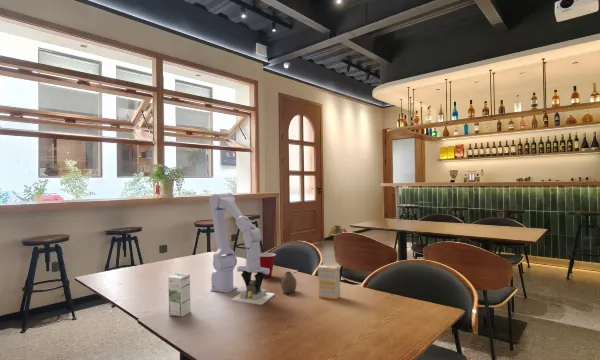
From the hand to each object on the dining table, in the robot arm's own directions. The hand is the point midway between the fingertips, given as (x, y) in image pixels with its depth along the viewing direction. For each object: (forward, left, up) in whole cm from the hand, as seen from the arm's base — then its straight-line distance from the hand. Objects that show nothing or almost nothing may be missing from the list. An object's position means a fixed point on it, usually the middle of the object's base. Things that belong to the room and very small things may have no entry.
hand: (253, 289), depth 142 cm
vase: (+11, +12, -4) cm, 17 cm away
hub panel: (0, 0, -3) cm, 3 cm away
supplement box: (+30, +11, -4) cm, 32 cm away
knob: (0, 0, -2) cm, 2 cm away
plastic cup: (-10, +31, -4) cm, 33 cm away
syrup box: (-18, -24, -4) cm, 30 cm away
